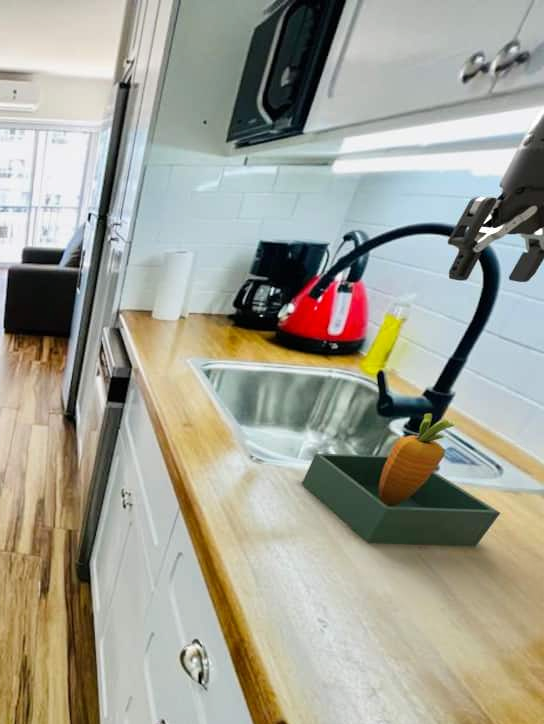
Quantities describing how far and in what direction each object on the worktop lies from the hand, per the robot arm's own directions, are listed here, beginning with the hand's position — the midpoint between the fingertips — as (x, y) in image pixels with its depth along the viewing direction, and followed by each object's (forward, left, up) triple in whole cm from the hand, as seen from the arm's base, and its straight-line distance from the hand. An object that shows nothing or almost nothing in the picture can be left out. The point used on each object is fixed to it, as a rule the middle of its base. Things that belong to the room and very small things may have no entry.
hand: (487, 280), depth 68 cm
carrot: (+13, +16, -30) cm, 36 cm away
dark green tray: (+13, +16, -30) cm, 36 cm away
